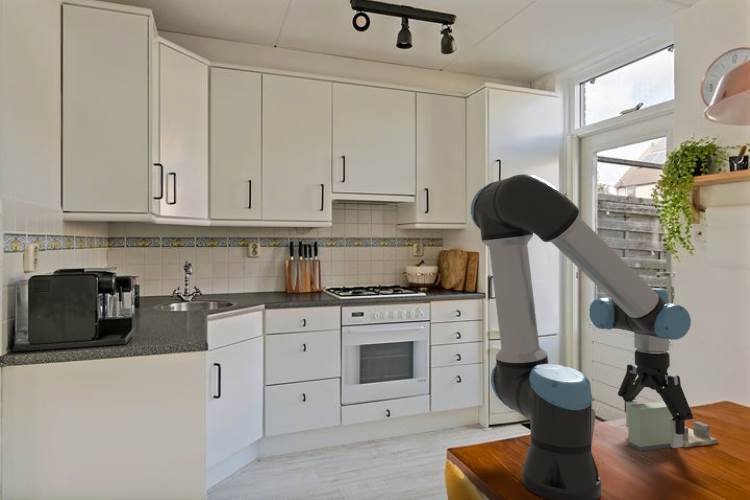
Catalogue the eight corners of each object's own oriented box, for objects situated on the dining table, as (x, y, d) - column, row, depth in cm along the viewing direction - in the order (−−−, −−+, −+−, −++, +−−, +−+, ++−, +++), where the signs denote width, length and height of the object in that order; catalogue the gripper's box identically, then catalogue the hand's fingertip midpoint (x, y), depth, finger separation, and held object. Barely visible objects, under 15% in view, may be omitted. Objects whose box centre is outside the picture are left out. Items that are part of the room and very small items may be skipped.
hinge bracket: (685, 447, 117) (685, 431, 117) (634, 424, 132) (634, 410, 132) (717, 443, 119) (717, 427, 119) (663, 421, 135) (663, 407, 135)
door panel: (676, 446, 118) (676, 405, 118) (639, 451, 115) (639, 409, 115) (664, 440, 121) (664, 401, 121) (628, 445, 118) (628, 404, 118)
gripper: (710, 360, 107) (712, 454, 107) (625, 340, 131) (627, 418, 131) (683, 362, 105) (685, 458, 105) (602, 342, 129) (604, 420, 129)
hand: (653, 436), depth 118 cm, fingers open, 13 cm apart
